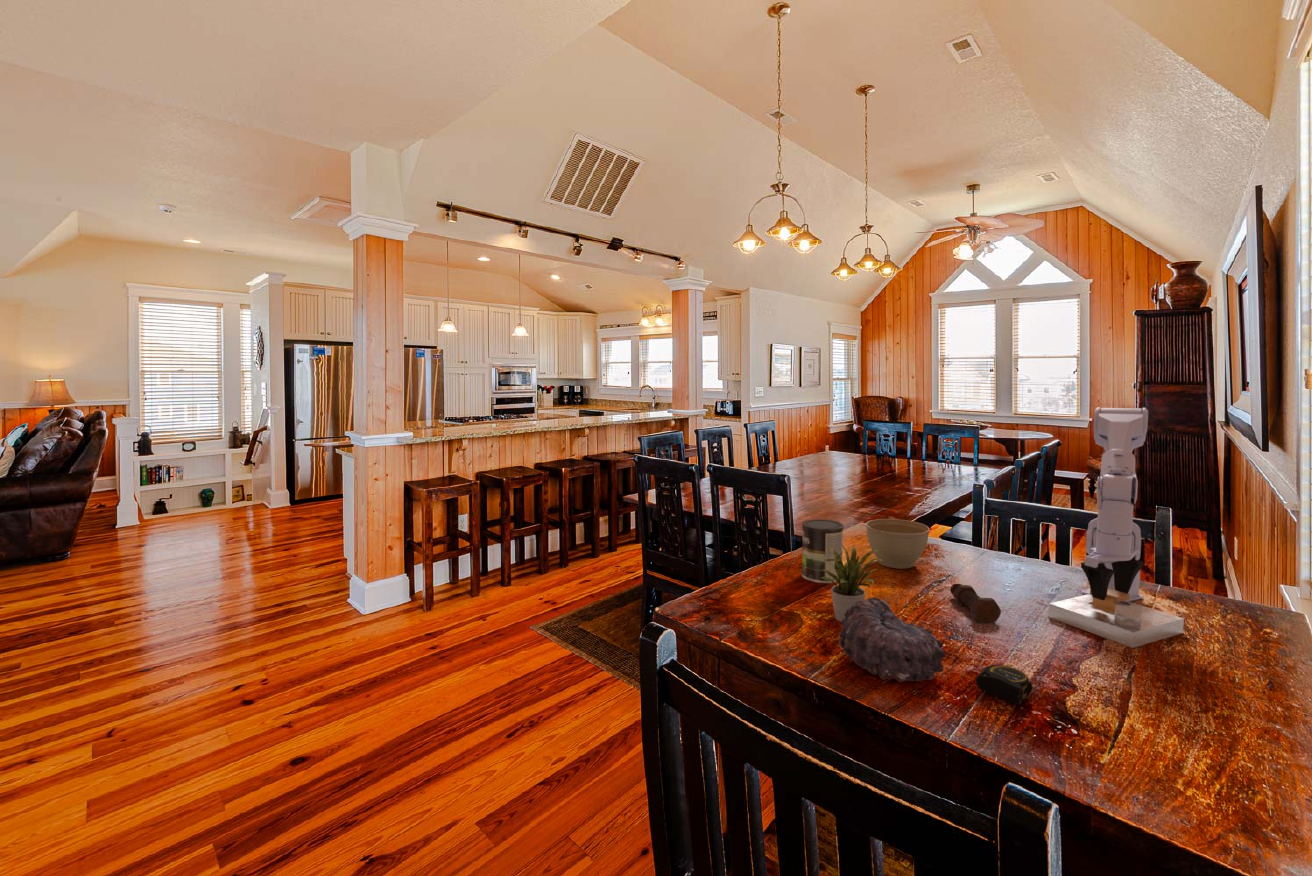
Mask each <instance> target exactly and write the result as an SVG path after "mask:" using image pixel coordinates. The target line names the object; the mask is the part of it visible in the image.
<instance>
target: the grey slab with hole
mask: <svg viewBox="0 0 1312 876" xmlns="http://www.w3.org/2000/svg"><path fill="white" fill-rule="evenodd" d="M1092 601H1093V597H1092V595H1090V594H1087V595H1086V594H1083V595H1078V596H1076V597H1071V598H1066V599H1063V600H1057V601H1054V602H1050V603H1048V618H1051V619H1053V620H1056V621H1058V622H1061V623H1064V624H1067V625H1069V626H1072V627H1075V628H1076V629H1077V628H1078V629H1080V630H1083V631H1086V632H1089V633H1091V634H1094V635H1096V636H1098V637H1102V638H1104V639H1107V640H1110V641H1113V642H1116V643H1119V644H1121V645H1123V646H1126V647H1129V648H1131V649H1134V648H1137V647H1141V646H1144V645H1148V644H1151V643H1154V642H1157V641H1160V640H1164V639H1168V638H1171V637H1174V636H1177V635H1181V634H1183V633H1184V625H1185V618H1183V617H1181V616H1177V615H1174V614H1172V613H1167V612H1166V611H1165V612H1164V611H1162V610H1159V609H1153V608H1151V607H1148V606H1144V605H1141V604H1138V603H1135V602H1133V601H1126V602H1123V601H1119V602H1116V603H1115V612H1112V611H1109V610H1106V609H1103V608H1100V607H1097V606H1094V605H1092Z"/></svg>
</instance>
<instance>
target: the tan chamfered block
mask: <svg viewBox="0 0 1312 876" xmlns="http://www.w3.org/2000/svg"><path fill="white" fill-rule="evenodd" d="M1090 595H1092V593H1091V589H1090ZM1127 600H1129V594H1126V593H1123V592H1119V591H1116V590H1113V589H1109V588H1108V590H1107V595H1106V598H1105V600H1100V599H1097V598H1094V597H1093V601H1092V605H1094V606H1097V607H1100V608H1103V609H1106V610H1109V611H1112V612H1115V603H1116V602H1119V601H1123V602H1126V601H1127Z"/></svg>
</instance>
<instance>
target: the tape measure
mask: <svg viewBox="0 0 1312 876" xmlns="http://www.w3.org/2000/svg"><path fill="white" fill-rule="evenodd" d="M1031 682H1032V681H1030V680H1029V677H1028V675H1027V674H1026V673H1025V672H1023V671H1022V670H1020V669H1018V668H1015V667H1012V666H1010V665H1009V666H1008V665H1004V664H991V665H987V666H985V667H984V668H983V670H982V671H981V672H980V673H978V674H977V675H976V677H975V685H976V687H977V688H978V689H979V690H981V691H983V692H985V693H987V694H990V695H993V696H995V697H997V698H1000V699H1003V700H1005V701H1008V702H1009V703H1010V702H1011V703H1013V704H1014V705H1021V704H1022V703H1023V701H1025V700H1027V699H1028V697H1029V695H1030V694H1031V693H1032V690H1033V684H1032V683H1031Z"/></svg>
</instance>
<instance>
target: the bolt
mask: <svg viewBox="0 0 1312 876" xmlns="http://www.w3.org/2000/svg"><path fill="white" fill-rule="evenodd" d="M949 592H950V593H951V594H952V595H953V598H954V600H955V601H956V603H957V604H958V605H959V606H961V607H968V608H969V610H970V612H971V614H972V615H973V617H974V619H975V620H976V621H977V622H978V623H980V624H995V623H996V622H997V621H998V620H999V618H1000V617H1001V613H1002V610H1001V608H1000V606H999V605H998V603H997V602H996V600H995V599H994V598H992V597H980V596H979V595H978V594H977V592H976V590H975V589H974V587H973V586H971V585H970V584H961V583H953V584H952V585H951V586H950V591H949Z"/></svg>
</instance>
